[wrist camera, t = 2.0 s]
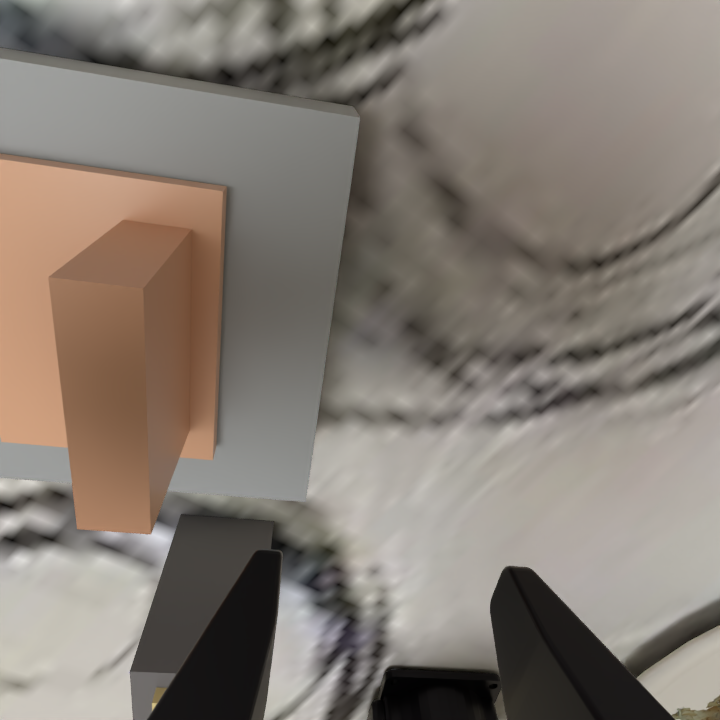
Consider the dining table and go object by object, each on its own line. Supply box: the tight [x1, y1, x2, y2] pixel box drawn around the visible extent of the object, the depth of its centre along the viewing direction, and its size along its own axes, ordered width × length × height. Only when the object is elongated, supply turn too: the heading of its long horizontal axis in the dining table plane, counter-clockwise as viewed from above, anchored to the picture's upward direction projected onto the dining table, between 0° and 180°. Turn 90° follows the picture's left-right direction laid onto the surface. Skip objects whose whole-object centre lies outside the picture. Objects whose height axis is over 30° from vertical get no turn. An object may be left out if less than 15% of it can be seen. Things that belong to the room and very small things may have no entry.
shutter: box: [0, 153, 227, 534], centre depth 13 cm, size 6×8×5 cm
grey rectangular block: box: [130, 514, 274, 720], centre depth 22 cm, size 4×4×8 cm
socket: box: [0, 47, 360, 502], centre depth 17 cm, size 16×12×4 cm
